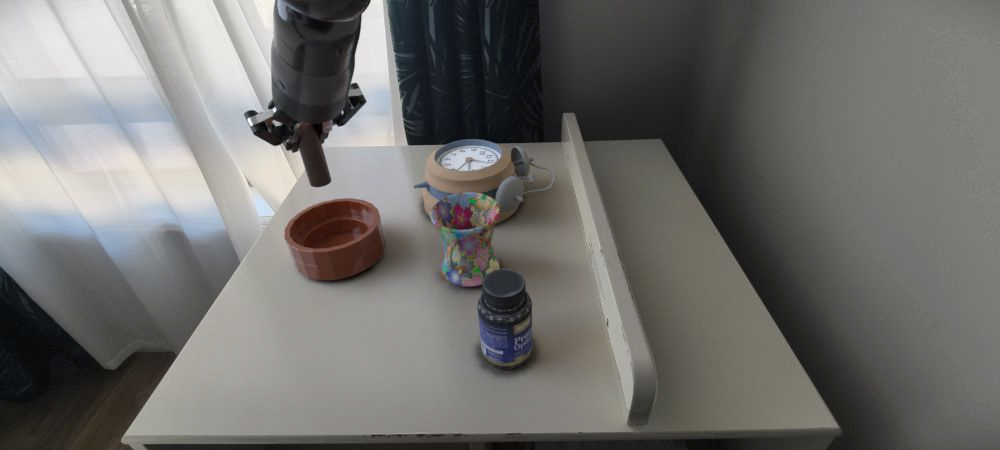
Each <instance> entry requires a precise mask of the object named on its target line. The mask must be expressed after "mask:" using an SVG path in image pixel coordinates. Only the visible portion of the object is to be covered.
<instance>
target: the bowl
mask: <svg viewBox="0 0 1000 450" xmlns="http://www.w3.org/2000/svg"><path fill="white" fill-rule="evenodd" d="M283 235H284V241H285V244H286V246H287V249H288V251H289V254H290V257H291V260H292V262H293V265H294V267H295V269H296V270H297V272H298V273H299V274H301V275H302V276H305V277H306V278H308V279H312V280H317V281H337V280H342V279H345V278H349V277H354V276H355V275H357V274H360V273H362V272H364V271H366V270H368V269H369V268H370V267H371V266H374V265H375V264H376V263H377V262H378V261H379V260H380V259H381V257H382V256H383V254H384V253H385V249H386V246H387V241H386V236H385V232H384V228H383V223H382V219H381V214H380V211H379V209H378V208H377V207H376V206H375V205H374V204H373V203H372V202H369V201H367V200H364V199H359V198H353V197H347V198H345V197H344V198H335V199H330V200H325V201H320V202H319V203H315V204H313V205H310V206H308V207H307V208H305V209H303V210H301V211H300V212H298V213H297V214H295V216H293V217H292V218H290V220H289V221H288V223H287V225H286V226H285V228H284V234H283Z"/></svg>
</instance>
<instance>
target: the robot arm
mask: <svg viewBox="0 0 1000 450" xmlns="http://www.w3.org/2000/svg"><path fill="white" fill-rule="evenodd" d="M371 1H372V0H274V3H273V11H272V12H273V13H272V17H273V18H272V19H273V20H272V23H273V25H272V26H273V31H272V33H273V37H272V41H271V46H270V47H271V48H270V79H271V80H270V81H271V97H272V98H271V100H270V101H269V102H268V104H267V109H265V110H264V111H259V112H258V111H256V110H255V109H250V110H247V111H245V112H244V113H243V116H244V118H245V120H246V122H247V124H248V126H249V128H250V130H251V132H252V134H253V136H255V137H257V138H259V139H260V140H262V141H264V142H266V143H268V144H269V145H271V146H273V147H278V146H280V145H282V144H283V146H284V149H285V150H286V151H289V152H290V151H291V153H292V154H295V153H298V152H299V148H298V146H299V139H298V138H299V136H302V135H303V134H304V132H305V130H306V127H307V126H309V125H310V124H316V126H317V130H318V133H319V137H320V140H321V144H322V145H323V144H325V140H327V139H328V138H329V135H330V133H331V132H332V130H333V127H334V126H337V127H338V128H340V127H344V126H345V125H346V124H347V123H348V122H349V121H350V120H351V119H352V118H353V117H354V116H355V115H356V114H357V113H358V112H359V111H360V110H361V109H362V108H363V107H364V106H365V105H366V104H367V102H368V101H367V99H366V98H365V95H364V93H363V91H362V89H361V87H360V85H359V83H357V82H352V81H353V78H354V72H355V68H356V53H357V49H358V44H359V40H360V37H361V36H360V35H361V31H362V16H363V13H364V12H365V11H366V10H367V9H368V8H369V6H370V4H371ZM273 121H275V122H277V123H278V125H276V124H275V122H273Z"/></svg>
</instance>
